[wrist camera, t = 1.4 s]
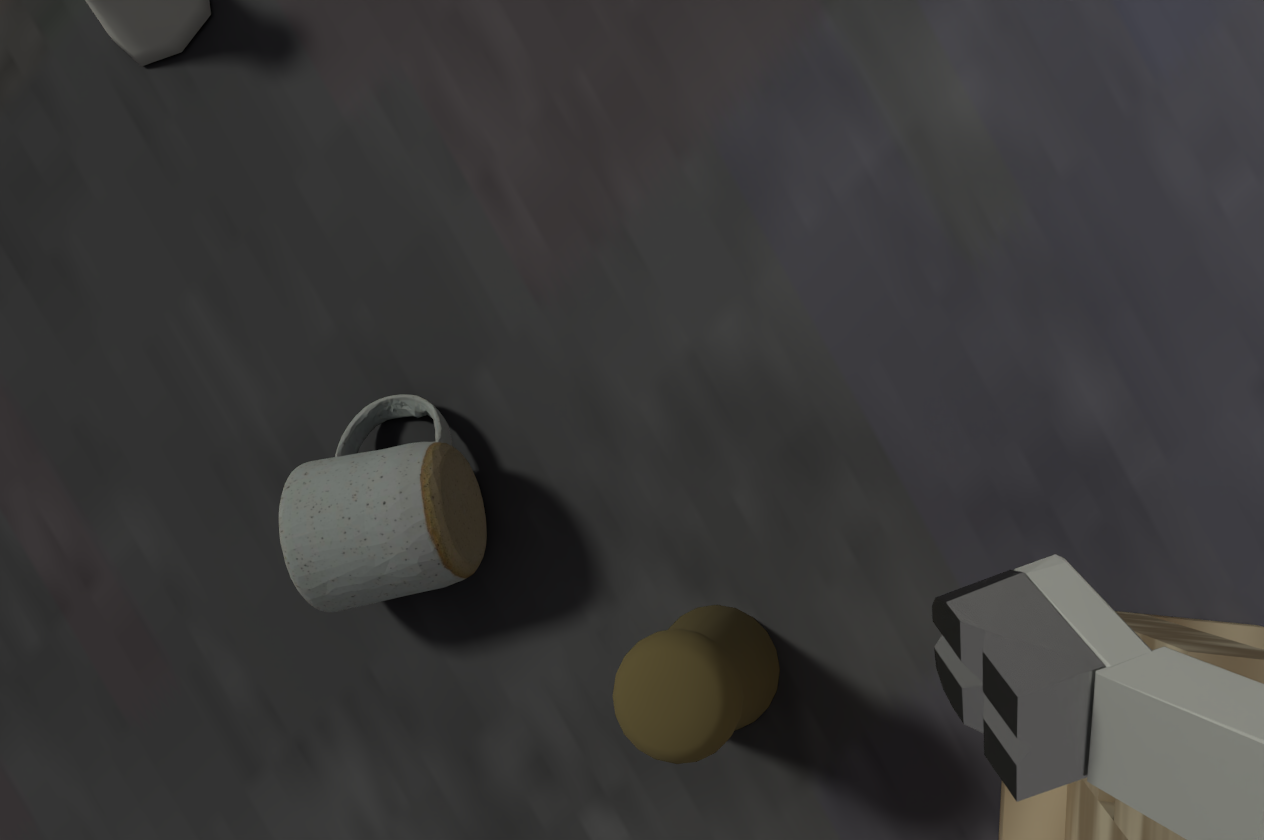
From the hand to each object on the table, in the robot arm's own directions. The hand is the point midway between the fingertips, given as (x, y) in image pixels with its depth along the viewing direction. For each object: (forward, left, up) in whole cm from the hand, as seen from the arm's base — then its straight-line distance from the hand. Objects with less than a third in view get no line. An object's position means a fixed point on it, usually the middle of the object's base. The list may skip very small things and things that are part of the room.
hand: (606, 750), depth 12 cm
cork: (+7, -1, -39) cm, 40 cm away
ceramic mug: (+12, -19, -40) cm, 45 cm away
